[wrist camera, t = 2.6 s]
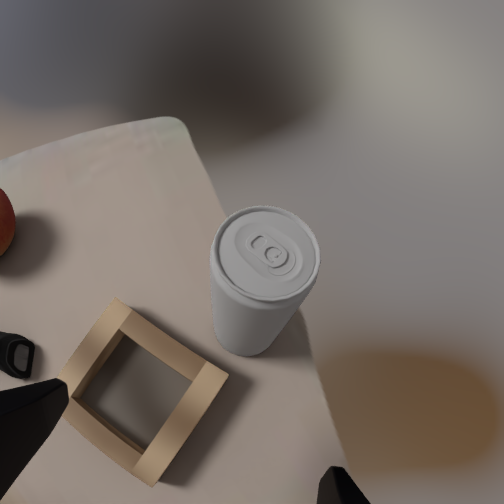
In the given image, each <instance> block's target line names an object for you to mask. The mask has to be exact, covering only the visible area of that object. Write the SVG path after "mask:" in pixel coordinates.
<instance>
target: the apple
mask: <svg viewBox="0 0 504 504" xmlns="http://www.w3.org/2000/svg"><path fill="white" fill-rule="evenodd" d="M15 223H16V221H15V214H14V210H13V207H12V205H11V202H10V200H9V198H8V197H7V195H6V194H5V192H4V191H3V190H2V189H0V256H1V255H2V254H3V253H4V252H5V251H6V250H7V248H8V247H9V245H10V243H11V241H12V239H13V237H14V233H15Z"/></svg>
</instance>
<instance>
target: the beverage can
mask: <svg viewBox="0 0 504 504" xmlns="http://www.w3.org/2000/svg"><path fill="white" fill-rule="evenodd" d="M320 263H321V254H320V247H319V244H318V241H317V238H316V236H315V235H314V233H313V231H312V230H311V228H310V227H309V226H308V225H307V224H306V223H305V222H304V221H303V220H302V219H301V218H299V217H297V216H296V215H294V214H292V213H291V212H289V211H287V210H284V209H280V208H278V207H273V206H265V205H262V206H251V207H248V208H245V209H242V210H239V211H237V212H235V213H234V214H232V215H231V216H229V217H228V218H227V219H226V220H225V221H224V222H223V223H222V224H221V225H220V227H219V229H218V231H217V233H216V235H215V237H214V241H213V243H212V246H211V252H210V283H211V301H212V312H213V324H214V330H215V334H216V337H217V339H218V341H219V343H220V344H221V345H222V347H223V348H224V349H226V350H227V351H229V352H230V353H232V354H235V355H238V356H252V355H256V354H259V353H261V352H263V351H264V350H265V349H267V348H268V347H269V346H270V345H271V343H272V342H273V341H274V340H275V338H276V337H277V336H278V334H279V333H280V332H281V330H282V329H283V328H284V326H285V325H286V324H287V322H288V321H289V320H290V318H291V317H292V316H293V314H294V313H295V312H296V310H297V309H298V308H299V306H300V305H301V303H302V302H303V300H304V299H305V298H306V297H307V295H308V294H309V292H310V290H311V289H312V287H313V286H314V284H315V282H316V279H317V275H318V271H319V267H320Z"/></svg>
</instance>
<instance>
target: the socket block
mask: <svg viewBox="0 0 504 504" xmlns="http://www.w3.org/2000/svg"><path fill="white" fill-rule="evenodd" d="M228 377H229V374H227V373H226V372H224V371H222V370H221V369H219V368H218V367H216V366H214V365H213V364H211V363H209V362H208V361H206V360H205V359H203V358H202V357H200V356H198V355H197V354H195V353H194V352H192V351H191V350H189V349H188V348H186V347H185V346H183V345H182V344H180V343H179V342H177V341H176V340H174V339H173V338H171V337H170V336H168V335H167V334H165V333H164V332H163V331H161V330H160V329H158V328H157V327H156V326H154V325H153V324H151V323H150V322H149V321H147V320H146V319H144V318H143V317H142V316H140V315H139V314H138V313H136V312H135V311H134V310H132V309H131V308H130V307H128V306H127V305H126V304H124V303H123V302H122V301H120V300H119V299H118V298H117V297H115V298H114V299H113V301H112V302H111V303H110V305H109V306H108V307H107V308H106V310H105V311H104V312H103V314H102V315H101V316H100V318H99V319H98V320H97V322H96V323H95V324H94V326H93V327H92V328H91V330H90V331H89V332H88V334H87V335H86V337H85V338H84V339H83V341H82V342H81V343H80V345H79V346H78V348H77V349H76V350H75V352H74V353H73V355H72V356H71V358H70V359H69V360H68V362H67V363H66V365H65V366H64V368H63V369H62V371H61V372H60V374H59V375H58V377H57V378H58V379H60V380H62V381H64V382H65V383H66V384H67V386H68V394H69V404H68V406H67V408H66V409H65V411H64V413H63V414H62V417H63V418H64V419H65V420H66V421H68V422H69V423H70V424H71V425H72V426H73V427H74V428H75V429H76V430H77V431H78V432H79V433H81V434H82V435H83V436H84V437H85V438H86V439H87V440H89V441H90V442H91V443H92V444H93V445H95V446H96V447H97V448H98V449H99V450H101V451H102V452H103V453H104V454H106V455H107V456H108V457H109V458H111V459H112V460H113V461H115V462H116V463H117V464H119V465H120V466H121V467H123V468H124V469H125V470H127V471H128V472H130V473H131V474H132V475H134V476H135V477H137V478H138V479H140V480H141V481H143V482H144V483H146V484H147V485H149V486H150V487H153V486H154V485H155V484H156V483H157V482H158V480H159V479H160V477H161V476H162V475H163V473H164V472H165V470H166V469H167V468H168V466H169V465H170V463H171V462H172V461H173V459H174V458H175V456H176V455H177V453H178V452H179V451H180V449H181V448H182V446H183V445H184V443H185V442H186V440H187V439H188V438H189V436H190V435H191V433H192V432H193V430H194V429H195V427H196V426H197V424H198V423H199V421H200V420H201V418H202V417H203V415H204V414H205V412H206V411H207V409H208V408H209V406H210V405H211V403H212V402H213V400H214V399H215V397H216V396H217V394H218V393H219V391H220V390H221V388H222V386H223V385H224V383H225V382H226V380H227V379H228Z"/></svg>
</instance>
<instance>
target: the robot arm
mask: <svg viewBox="0 0 504 504" xmlns="http://www.w3.org/2000/svg"><path fill="white" fill-rule="evenodd" d="M68 404H69V394H68V386H67V384H66V383H65V382H64V381H62V380H60V379H58V378H54V379H50V380H46V381H42V382H38V383H34V384H30V385H26V386H21V387H17V388H13V389H8V390H3V391H0V500H1V499H2V497H3V496H4V495H5V493H6V492H7V491H8V489H9V488H10V486H11V485H12V484H13V482H14V481H15V480H16V478H17V477H18V476H19V474H20V473H21V472H22V470H23V469H24V468H25V466H26V465H27V464H28V462H29V461H30V460H31V459H32V457H33V456H34V455H35V453H36V452H37V451H38V450H39V448H40V447H41V446H42V444H43V443H44V442H45V441H46V439H47V438H48V437H49V435H50V434H51V432H52V431H53V429H54V427H55V426H56V424H57V422H58V421H59V419H60V417H61V416H62V414H63V413H64V411H65V409H66V408H67V406H68ZM317 504H370V502H369V501H368V500H367V498H366V497H365V496H364V494H363V493H362V492H361V491H360V489H359V488H358V487H357V485H356V484H355V483H354V481H353V480H352V479H351V477H350V476H349V475H348V473H347V472H346V470H345V469H344V468H343V467H337V466H331V467H330V468H329V469H328V470H327V471H326V473H325V474H324V476H323V477H322V478H321V480H320V483H319V489H318V498H317Z"/></svg>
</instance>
